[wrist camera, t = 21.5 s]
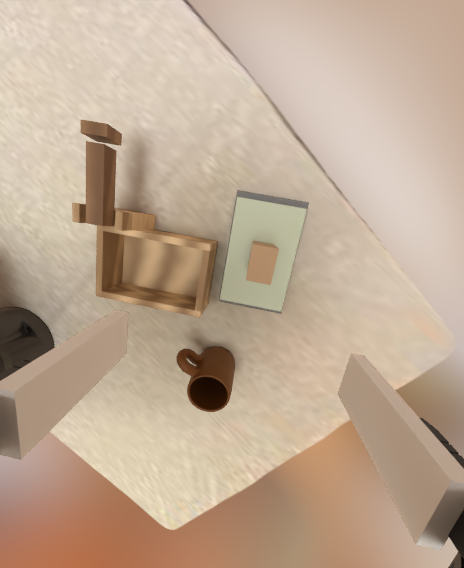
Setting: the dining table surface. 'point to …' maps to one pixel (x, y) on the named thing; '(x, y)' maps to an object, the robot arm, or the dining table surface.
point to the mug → (208, 377)
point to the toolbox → (151, 263)
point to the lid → (261, 253)
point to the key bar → (100, 172)
